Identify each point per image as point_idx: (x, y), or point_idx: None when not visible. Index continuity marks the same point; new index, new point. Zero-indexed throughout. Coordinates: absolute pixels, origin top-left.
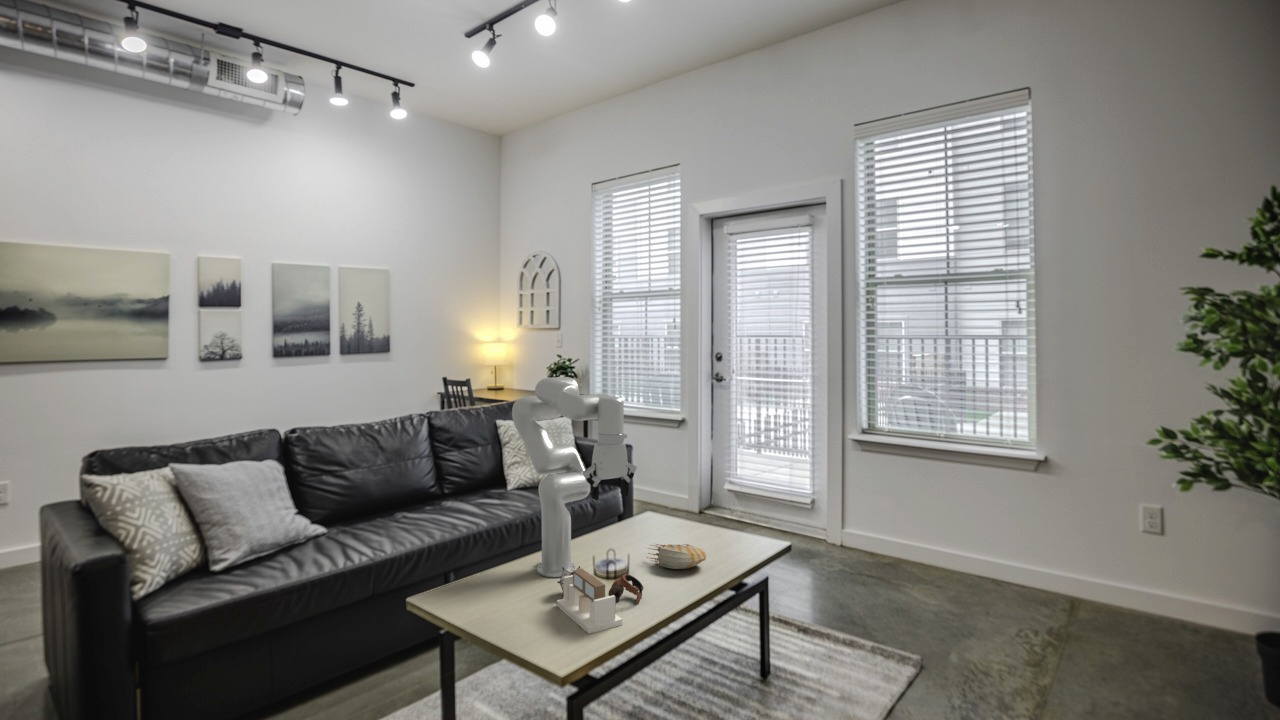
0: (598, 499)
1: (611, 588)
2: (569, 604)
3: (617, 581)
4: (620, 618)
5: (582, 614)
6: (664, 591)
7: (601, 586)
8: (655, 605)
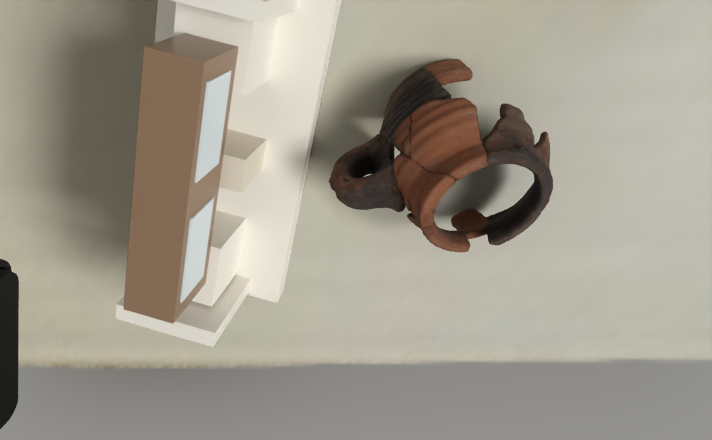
0: (10, 413)
1: (337, 187)
2: None
3: (412, 159)
4: (275, 294)
5: None
6: (678, 214)
7: (155, 315)
8: (511, 278)
